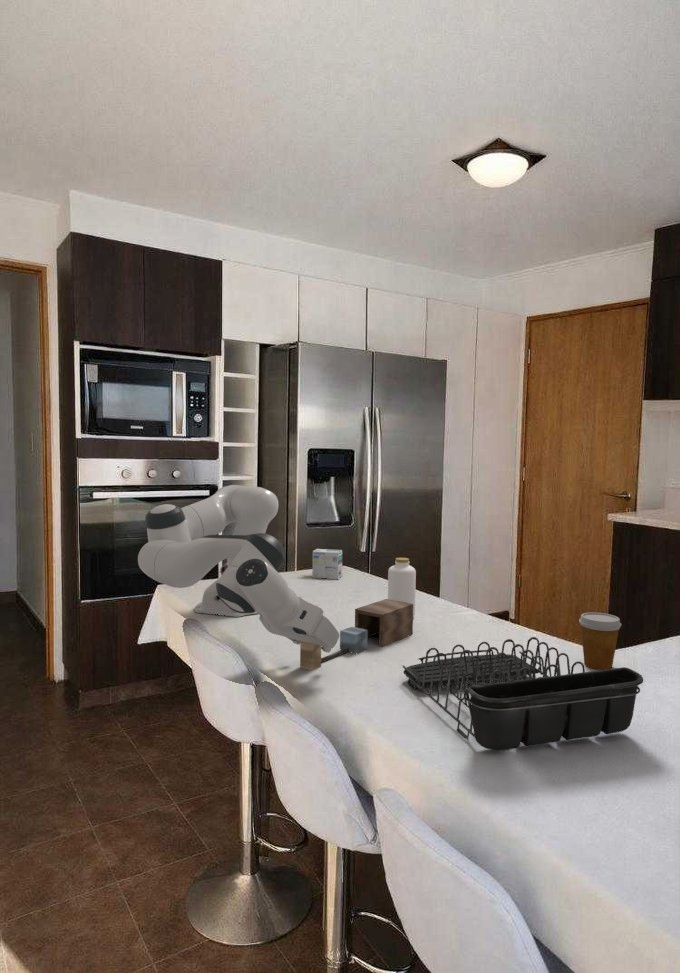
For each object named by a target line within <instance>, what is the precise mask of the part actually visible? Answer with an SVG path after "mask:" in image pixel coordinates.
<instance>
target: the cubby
mask: <svg viewBox="0 0 680 973" xmlns="http://www.w3.org/2000/svg"><path fill="white" fill-rule="evenodd" d="M354 627H356V628H360V629H364V630H367V638H368V637H372V636H374V635H376V634H378V635H379V637H378V638H379V639H378V641H379V642H378V643H379V644H378V645H379V647H383V648H384V647H385V646H388V645H390V644H392V643H395V642H396V641H399V640H402V639H404V638H406V636H407V637H409V636H411V635H413V634H414V628H413V627H414V617H413V604H411V603H405V602H400V601H395V600H389V599H388V598H384V599H381V600H379V601H376V602H373V603H370V604H366V605H363V606H360V607H357V608H355V609H354ZM408 635H409V636H408Z"/></svg>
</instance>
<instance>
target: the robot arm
mask: <svg viewBox="0 0 680 973" xmlns="http://www.w3.org/2000/svg"><path fill="white" fill-rule="evenodd" d="M276 495H277V494H275V493H274V492H273V491H271V490H268V489H266V488H264V487H260V486H253V485H240V484H231V485H226V486H222V487H220V488H218V489H217V491H216V492H215V493H214V494H212V495H211V496H209V497H207V498H204V499H201V500H199V501H197V502H193V503H192V504H189V505H185V506H183V507H179V506H178V505H177V504H172V503H165V504H160V505H157V506H155V507H152V508H150V509H149V510H148V512H147V513H146V514H145V520H144V521H145V523H144V524H145V528H146V531H147V532H146V534H147V541H148V542H146V543H145V544H144V545H143V546H142V547H141V548H140V550H139V552H138V555H137V564H138V567H139V569H140V570H141V571H142V572H143V573H144V574H145V575H146V576H147V577H149V578H150V579H152V580H154V581H156V582H158V583H160V584H162V585H166V586H168V587H172V588H177V589H182V588H188V587H189V588H190V587H192V586H194V585H196V584H197V583H199V582H200V581H201V580H202V579H203V578H204V577H205V576H206V575H207V574H208V573H209V572H210V571H211V570H212V569H213V568H214V567H215V566H217V565H218V564H219V563H220V562H222V561H223V560H226V561H227V562H226V563H224V564H223V566H221V568H220V569H219V573H220V574H221V575H220V577H219V578H218V579H216V580H215V581H214V582H212V583H211V584H210V585H209V586H207V587H206V589H205V590H204V591H203V594H202V598H201V599H202V600H201V602H199V603H197V604H196V605H195V607H194V612H195V613H198V614H208V615H215V614H216V615H217V614H218V616H224V615H225V617H235V618H239V617H243V616H248V615H249V616H250V615H259V617H258V618H259V621H260V623H261V624H262V626H263V627H264V628H265V629H266V630H267V631H268V632H269V633H271V634H273V635H275V636H276V635H277V636H281V637H284V638H286V639H288V640H289V641H291V642H292V643H293V644H294V645H299V646H300V641H303V642H307V643H311V644H315V645H319V646H321V651H323V652H325V653H330V652H331V651H332V649H334V648H335V646H336V644H337V643H338V641H339V640H340V632H339V631H338V629H337V628H336V627H335V626H334V624H333V623H332V622H331V620H329V618H328V617H326V616H325V615H323V614H324V610H323V609H322V607H320V606H318V605H315V604H313V603H311V602H308V601H307V600H305V599H304V598H303V597H300V596H298V595H297V593H296V592H295V591H294V590H293V589H291V588H290V587H289V585H288V582H287V581H286V580H285V579H284V577H283V576H282V575H281V574H280V573H279V572H278V571H279V570H280V569H281V567H282V566H283V565H284V563H285V562H286V560H285V558H286V557H285V550H284V546H283V544H282V543H281V541H280V540H279V539H277V538H276V537H275V536H272V535H271V534H268V533H266V532H267V529H268V526H269V524H270V523H271V521H272V520H274V518H275V517H276V516H277V514H278V511H279V499H278V496H276ZM235 522H236V525H235V528H234V530H233V533H232V534H221V533H222V532H223V531H224V530H225V528H226V527H227V526H228V525H229V524H231V523H235Z"/></svg>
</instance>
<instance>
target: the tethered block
mask: <svg viewBox="0 0 680 973" xmlns="http://www.w3.org/2000/svg"><path fill="white" fill-rule="evenodd" d="M299 646H300V647H299V648H300V650H299V651H300V652H299V658H300V659H299V667H300V668H303V669H306V670H309V671H314V670H316V669H318V668H320V667H322V663H323V662H325V661H328V660H330V659H332V658H335V657H338V656H341V655H344V654H345V653H350V652H352V653H351V654H354V653H355V654H354V655H357V654H359V653H361V651H362V652H364V651H366V650H368V637H367V630H364V629H360V628H356V627H355V626H350V627H347V628H344V629H340V630H339V651H337V652H333V653H331V654H328V655H326V656H323V657H322V649H321V647H322V646H319V645H315V644H311V643H307V642H303V641H300V644H299ZM340 649H341V650H340ZM356 653H357V654H356Z"/></svg>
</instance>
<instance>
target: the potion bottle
mask: <svg viewBox="0 0 680 973" xmlns="http://www.w3.org/2000/svg"><path fill="white" fill-rule="evenodd" d="M394 561H395V562H394V563H395V564H394V565H392V566H390V567H389V568H388V569H387V570H388V571H387V573H388V574H387V599H389V600H395V601H400V602H405V603H411V604H413V618H414V617H415V615H416V584H417V583H416V582H417V579H416V577H417V570H416V568H414V567H413V566H412V565H410V558H407V557H395V560H394Z"/></svg>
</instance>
